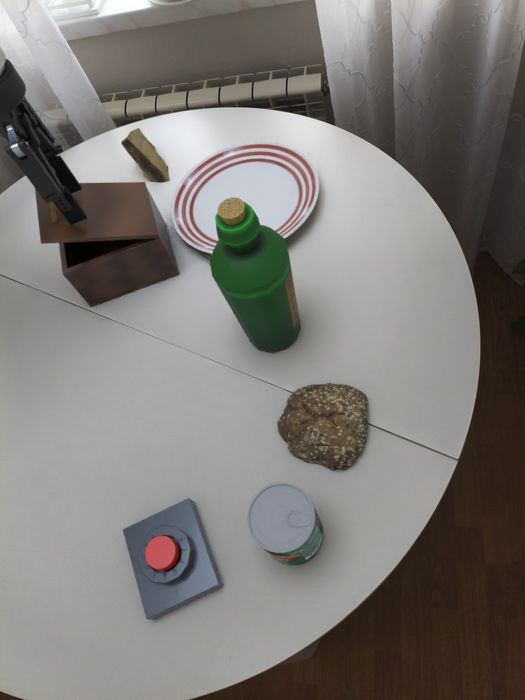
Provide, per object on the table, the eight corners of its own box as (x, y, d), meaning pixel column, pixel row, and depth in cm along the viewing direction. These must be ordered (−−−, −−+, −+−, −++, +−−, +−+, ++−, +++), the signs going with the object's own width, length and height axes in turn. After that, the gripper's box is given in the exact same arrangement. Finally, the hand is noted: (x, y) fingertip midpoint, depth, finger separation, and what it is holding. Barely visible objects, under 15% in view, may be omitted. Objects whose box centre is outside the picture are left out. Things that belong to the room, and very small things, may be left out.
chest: (91, 307, 98) (62, 274, 89) (82, 254, 104) (55, 219, 96) (179, 274, 97) (159, 238, 89) (165, 224, 104) (146, 185, 96)
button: (146, 546, 72) (141, 543, 70) (174, 532, 72) (169, 530, 71) (155, 576, 70) (150, 574, 68) (183, 562, 70) (179, 560, 69)
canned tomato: (259, 561, 72) (240, 546, 62) (270, 500, 75) (253, 478, 66) (320, 571, 70) (309, 558, 60) (328, 508, 73) (319, 486, 64)
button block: (128, 532, 77) (116, 526, 74) (194, 501, 77) (185, 494, 74) (152, 620, 71) (140, 618, 67) (223, 586, 71) (215, 582, 68)
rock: (128, 138, 115) (111, 168, 109) (140, 106, 108) (122, 136, 102) (176, 164, 117) (162, 195, 112) (190, 135, 111) (175, 166, 105)
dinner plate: (147, 216, 106) (141, 204, 103) (252, 133, 111) (248, 119, 108) (239, 293, 93) (235, 281, 90) (353, 194, 98) (351, 181, 96)
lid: (41, 243, 83) (35, 208, 78) (34, 187, 90) (29, 151, 84) (158, 238, 89) (161, 205, 84) (145, 185, 95) (146, 151, 90)
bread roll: (376, 394, 80) (376, 379, 75) (358, 476, 74) (357, 466, 70) (291, 378, 83) (286, 363, 79) (269, 456, 78) (262, 444, 74)
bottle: (320, 317, 88) (294, 189, 64) (283, 370, 84) (241, 257, 60) (265, 292, 92) (221, 164, 68) (228, 342, 89) (169, 225, 65)
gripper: (13, 107, 62) (106, 239, 82) (5, 21, 72) (90, 158, 92) (-48, 132, 62) (59, 257, 82) (-48, 43, 72) (49, 174, 92)
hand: (76, 205), depth 87 cm, fingers closed on lid, 6 cm apart
